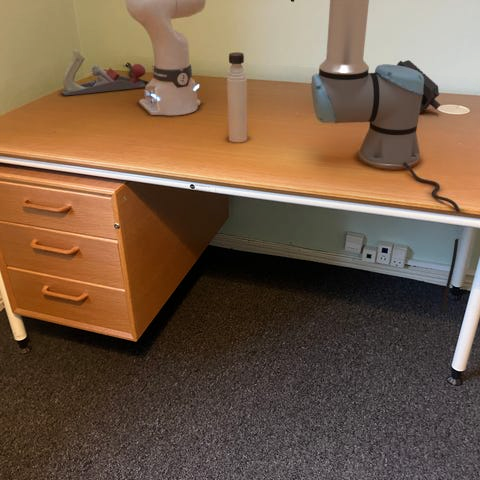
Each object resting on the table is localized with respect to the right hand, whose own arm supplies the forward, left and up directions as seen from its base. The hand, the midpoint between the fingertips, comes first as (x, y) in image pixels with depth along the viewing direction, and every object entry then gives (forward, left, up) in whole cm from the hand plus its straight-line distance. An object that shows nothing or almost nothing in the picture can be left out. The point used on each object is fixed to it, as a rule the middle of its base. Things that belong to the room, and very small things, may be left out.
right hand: (314, 0), depth 163 cm
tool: (-10, -30, -32) cm, 45 cm away
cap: (-31, +25, -9) cm, 41 cm away
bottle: (-31, +25, -32) cm, 51 cm away
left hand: (-28, +28, +16) cm, 42 cm away
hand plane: (+24, +73, -32) cm, 83 cm away
